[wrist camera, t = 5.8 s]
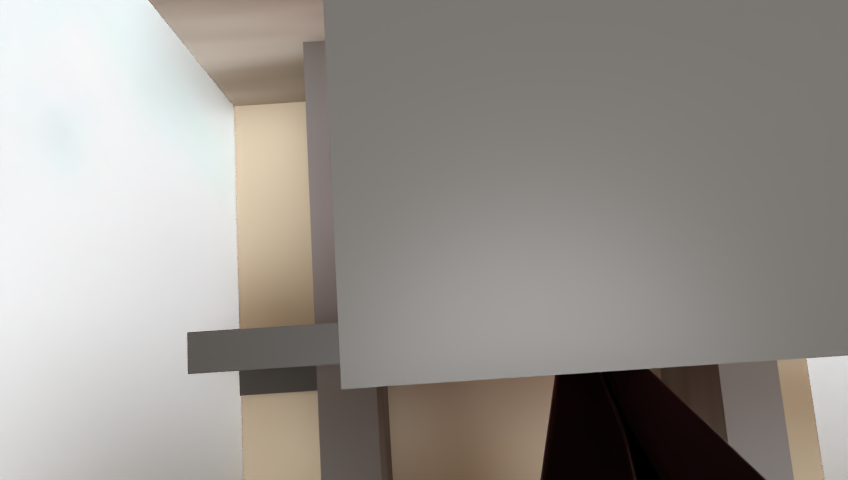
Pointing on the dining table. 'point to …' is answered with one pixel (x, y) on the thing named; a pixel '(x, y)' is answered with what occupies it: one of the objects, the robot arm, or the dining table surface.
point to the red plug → (575, 190)
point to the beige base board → (317, 303)
